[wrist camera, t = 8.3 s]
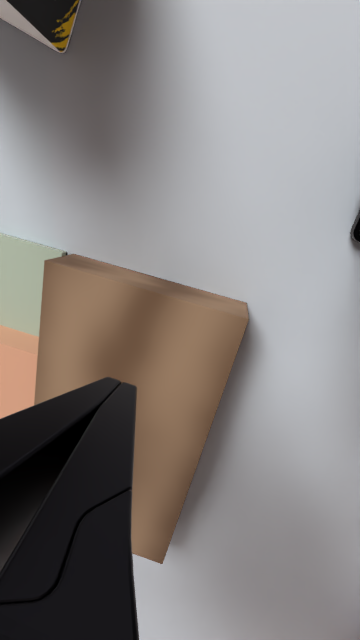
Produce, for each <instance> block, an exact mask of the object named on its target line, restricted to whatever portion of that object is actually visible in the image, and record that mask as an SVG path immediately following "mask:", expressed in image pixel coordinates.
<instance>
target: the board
mask: <svg viewBox="0 0 360 640" xmlns="http://www.w3.org/2000/svg"><path fill="white" fill-rule="evenodd" d="M248 320H249V316H248V309H247V303H245V302H241V301H238V300H234V299H231V298H227V297H224V296H220V295H217V294H213V293H210V292H206V291H203V290H199V289H196V288H192V287H189V286H185V285H182V284H178V283H175V282H171V281H167V280H164V279H160V278H157V277H153V276H150V275H146V274H143V273H139V272H136V271H132V270H129V269H125V268H122V267H118V266H115V265H111V264H108V263H104V262H101V261H97V260H94V259H90V258H87V257H83V256H79V255H76V254H71V255H66V256H62V257H57V258H53V259H48V260H44V274H43V288H42V301H41V315H40V329H39V343H38V357H37V371H36V385H35V399H34V405H36V404H39V403H41V402H44V401H46V400H49V399H51V398H54V397H57V396H59V395H62V394H64V393H67V392H69V391H72V390H74V389H77V388H80V387H82V386H85V385H87V384H90V383H92V382H95V381H97V380H100V379H102V378H105V377H111V378H114V379H117V380H120V381H121V382H126V383H129V384H132V385H135V386H136V387H137V401H136V423H135V445H134V466H133V488H132V524H131V541H132V553H133V554H136V555H139V556H141V557H144V558H147V559H149V560H152V561H155V562H158V563H160V564H162V563H163V561H164V558H165V555H166V552H167V549H168V546H169V544H170V541H171V538H172V535H173V532H174V529H175V527H176V524H177V521H178V518H179V515H180V513H181V510H182V507H183V504H184V501H185V498H186V496H187V493H188V490H189V487H190V484H191V481H192V479H193V476H194V473H195V470H196V467H197V464H198V462H199V459H200V456H201V453H202V450H203V448H204V445H205V442H206V439H207V436H208V433H209V431H210V428H211V425H212V422H213V419H214V416H215V414H216V411H217V408H218V405H219V402H220V399H221V397H222V394H223V391H224V388H225V385H226V383H227V380H228V377H229V374H230V371H231V368H232V366H233V363H234V360H235V357H236V354H237V351H238V349H239V346H240V343H241V340H242V337H243V334H244V332H245V329H246V326H247V323H248Z"/></svg>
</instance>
